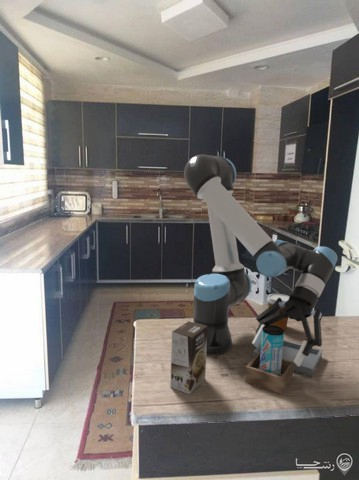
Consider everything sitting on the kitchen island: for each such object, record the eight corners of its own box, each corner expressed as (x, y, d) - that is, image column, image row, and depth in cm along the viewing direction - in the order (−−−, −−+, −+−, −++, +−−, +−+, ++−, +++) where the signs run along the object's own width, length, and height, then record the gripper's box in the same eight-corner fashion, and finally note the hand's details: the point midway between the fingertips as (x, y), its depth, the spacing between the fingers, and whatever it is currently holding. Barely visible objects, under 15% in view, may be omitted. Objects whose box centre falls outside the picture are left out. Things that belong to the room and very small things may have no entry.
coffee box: (190, 395, 92) (192, 337, 89) (169, 387, 95) (170, 331, 92) (206, 379, 99) (208, 325, 97) (186, 372, 103) (188, 320, 100)
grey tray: (252, 358, 111) (253, 351, 111) (267, 342, 123) (267, 335, 122) (312, 377, 102) (312, 369, 101) (321, 357, 113) (322, 350, 113)
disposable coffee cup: (291, 333, 130) (294, 302, 128) (265, 330, 132) (267, 300, 130) (289, 323, 140) (291, 294, 137) (264, 320, 141) (266, 292, 139)
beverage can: (262, 371, 104) (265, 323, 102) (282, 377, 101) (286, 328, 99) (256, 380, 99) (259, 330, 97) (276, 387, 96) (281, 336, 94)
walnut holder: (244, 381, 99) (245, 366, 98) (258, 365, 108) (259, 351, 107) (282, 394, 93) (283, 379, 92) (293, 376, 102) (294, 361, 101)
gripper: (351, 310, 98) (320, 379, 91) (275, 288, 117) (244, 344, 110) (345, 296, 94) (312, 367, 87) (266, 275, 112) (234, 332, 105)
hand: (274, 354), depth 98 cm, fingers open, 13 cm apart
